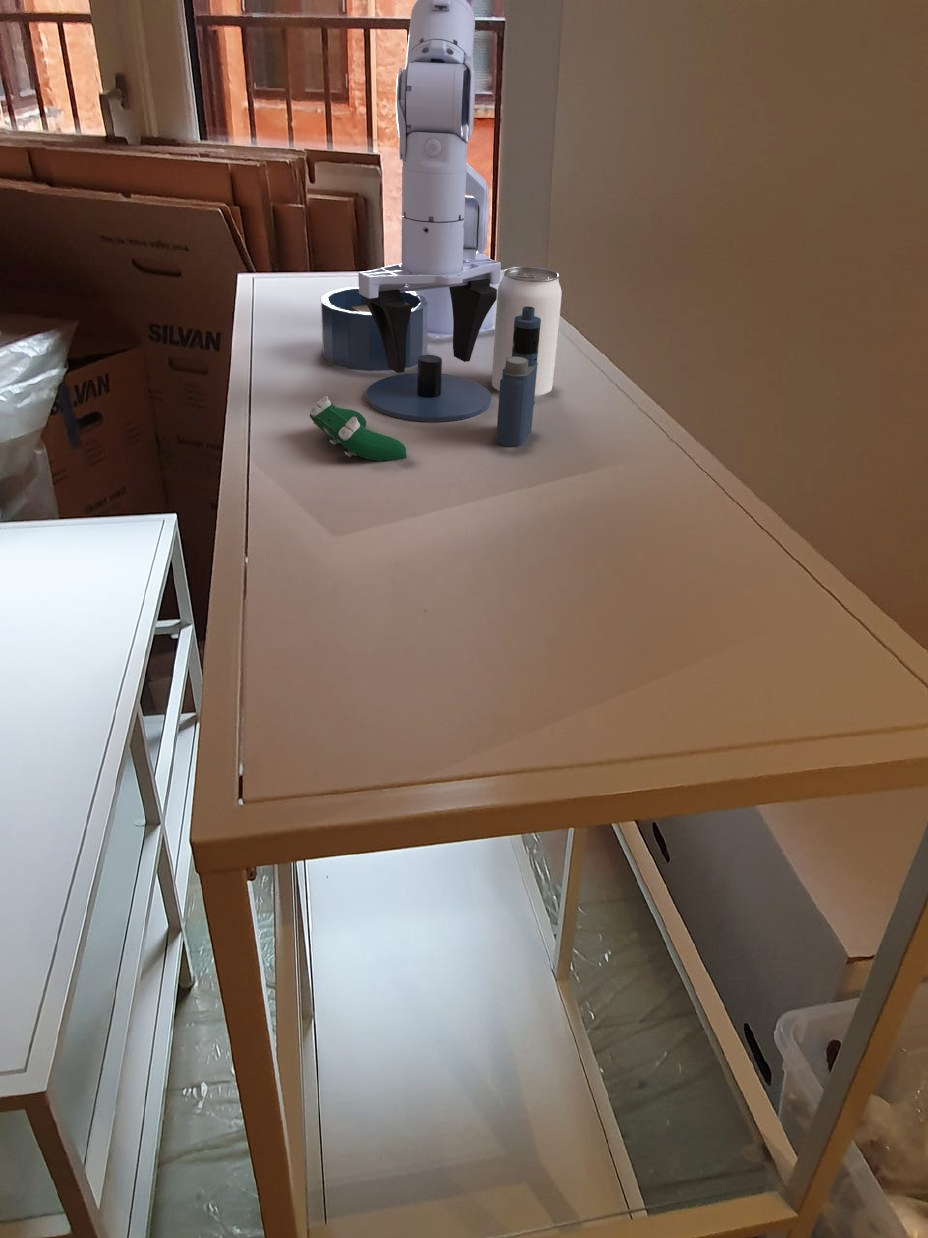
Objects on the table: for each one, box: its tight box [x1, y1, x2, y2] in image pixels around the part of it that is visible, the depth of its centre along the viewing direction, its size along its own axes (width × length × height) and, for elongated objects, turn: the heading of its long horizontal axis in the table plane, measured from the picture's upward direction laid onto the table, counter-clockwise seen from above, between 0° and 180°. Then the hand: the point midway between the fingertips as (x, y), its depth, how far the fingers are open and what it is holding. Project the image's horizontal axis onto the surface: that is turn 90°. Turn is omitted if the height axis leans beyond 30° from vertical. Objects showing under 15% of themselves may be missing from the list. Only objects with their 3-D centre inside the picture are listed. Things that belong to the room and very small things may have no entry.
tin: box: [320, 286, 428, 372], centre depth 102 cm, size 12×12×6 cm
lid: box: [366, 354, 492, 423], centre depth 91 cm, size 13×13×5 cm
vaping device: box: [495, 306, 541, 448], centre depth 82 cm, size 3×5×12 cm, turn 161°
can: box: [491, 266, 563, 397], centre depth 94 cm, size 6×6×12 cm
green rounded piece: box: [309, 395, 407, 462], centre depth 81 cm, size 9×4×6 cm
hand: (429, 364), depth 90 cm, fingers open, 7 cm apart
